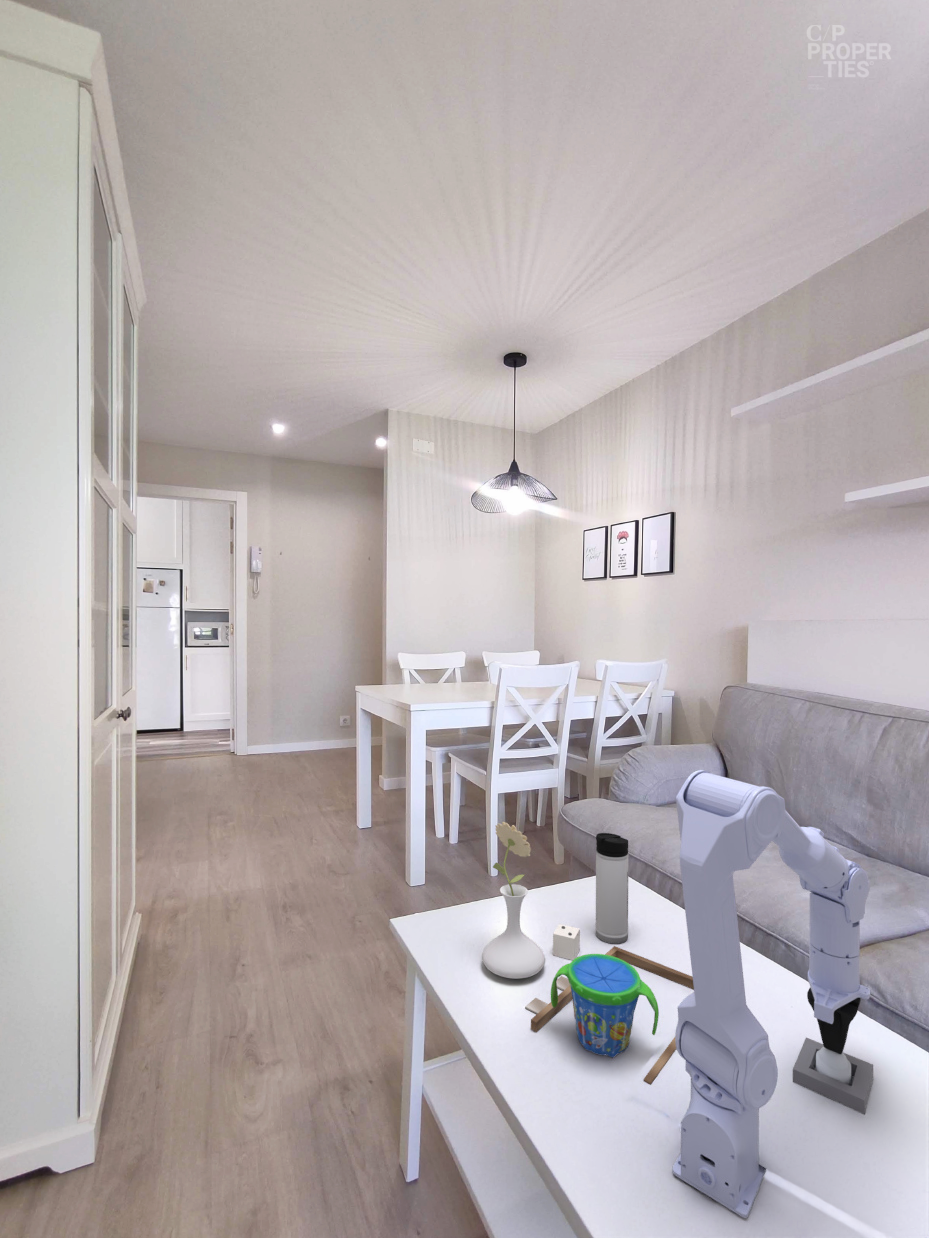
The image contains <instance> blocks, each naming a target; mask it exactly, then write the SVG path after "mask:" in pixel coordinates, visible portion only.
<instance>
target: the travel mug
mask: <svg viewBox="0 0 929 1238" xmlns="http://www.w3.org/2000/svg"><path fill="white" fill-rule="evenodd" d="M595 840H596V843H595V844H596V847H595V848H596V849H595V935H596V937H597V938H598V939H599V940H601V941H603V942H604V943H608V944H614V945H615V944H617V945H618V944H622V943H625V942H626V941H627V940H628V938H629V855H630V854H629V853H630V852H629V840H628V839H627V838H624V837H622V835H618V834H615V833H609V832H599V833H597V834H596V836H595Z"/></svg>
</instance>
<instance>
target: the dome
mask: <svg viewBox="0 0 929 1238" xmlns="http://www.w3.org/2000/svg"><path fill="white" fill-rule="evenodd" d="M844 1053H845V1052H844V1051H843V1052H842V1054H838V1053H836V1052H834V1051H831V1050H829V1049H826V1048H824V1047H822V1048H821V1050H819V1051H817V1053H816V1064H815V1071H817V1072H819V1073H822V1074H824V1075H826V1076H829V1077H831V1078H833V1079H836V1080H838V1081H840V1082H842V1083H845V1084H847V1085H849V1086H852V1076H851V1064H850V1062H849V1061H848V1059H847V1058H846V1056H845V1055H844Z"/></svg>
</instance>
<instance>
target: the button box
mask: <svg viewBox="0 0 929 1238" xmlns="http://www.w3.org/2000/svg"><path fill="white" fill-rule="evenodd" d="M822 1047H824V1045H823V1043H821V1042H819V1041H816V1040H813V1039H812V1038H808V1037H806V1036H805V1039H804V1041H803V1043H802V1046H801V1049H800V1050H799V1053H798V1056H797V1058H796V1061H795V1063H794V1065H793V1067H792V1083H795V1084H796V1085H799V1086H801V1087H803V1088H805V1089H807V1090H810V1091H812V1092H814V1093H816V1094H819V1095H821V1096H823V1097H825V1098H827V1099H829V1100H831V1101H833V1102H836V1103H839V1104H840V1105H843V1106H844V1107H847V1108H849V1109H851V1110H853V1111H856V1112H857V1113H860V1114H862V1115H864V1116H865V1114H866V1111H867V1108H868V1107H867V1106H868V1102H869V1097H870V1095H871V1090H872V1085H873V1082H874V1081H873V1080H874V1064H873V1063H870V1062H869V1061H868V1062H867V1061H865V1060H863V1059H860V1058H858V1057H856V1056H853V1055H851V1054H848V1053H845V1052H843V1053H844V1055H845V1056H846V1058H847V1059H848V1061H849V1062H850V1064H851V1077H853V1080H852V1082H851V1086H849V1085H847V1084H845V1083H842V1082H840V1081H838V1080H836V1079H833V1078H831V1077H829V1076H826V1075H824V1074H822V1073H819V1072H817V1071H816V1069H814V1068H815V1067H816V1053H817V1051H819V1050H821V1048H822Z"/></svg>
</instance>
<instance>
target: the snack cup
mask: <svg viewBox="0 0 929 1238" xmlns="http://www.w3.org/2000/svg"><path fill="white" fill-rule="evenodd" d="M561 976H565V977H566V978H567V979H568V980H569V983H570V986H571V991H572V1007H573V1013H574V1014H573V1015H574V1020H575V1029H576V1034H577V1038H578V1040H579V1042H580V1043H581V1045H583V1048H584V1049H585V1050H586V1051H588V1052H592V1053H594V1054H596V1055H600V1056H608V1057H610V1058H615V1057H616V1056H617V1055H619V1054H621V1053H624V1052H625V1051H626V1049H627V1048H629V1044H630V1040H631V1035H632V1030H633V1022H634V1014H635V1011H636V1008H637V1004H638V1000H639V998H640V996H644V997H646V1000H647V1001H648V1003H649V1005H650V1007H651V1008H652V1010H653V1012H654V1017H653V1020H654V1021H653V1025H652V1026H653V1027H652V1032H651V1034H652V1036H655V1035H656V1033H657V1028H658V1023H659V1022H658V1021H659V1013H660V1012H659V1005H658V1002H657V999H656V996H655V994H654V993H653V991H652V989H651V987H650V986H649V985H648V984H647V983H645V982H644V981H643V980H642V979H641V976H640V974H639V972H638V971H637V969H636V968H635V967H634V965H632V964H630V963H627V962H625V961H623V960H621V959H619V958H616V957H613V956H610V955H605V954H602V953H590V954H589V953H587V954H584V955H580V956H576V958H575V959H574V960H571V962H570V963H566V964H565V965H562V966H561V967H560V968H559V969H558V970H557V972H556V973H555V975H554V977H553V980H552V984H551V988H550V1002H551V1003H552V1006H553V1007H554V1008H555V1007H556V1006H557V1003H558V995H559V994H558V988H557V983H556V981H557V979H559V978H560V977H561Z"/></svg>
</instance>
